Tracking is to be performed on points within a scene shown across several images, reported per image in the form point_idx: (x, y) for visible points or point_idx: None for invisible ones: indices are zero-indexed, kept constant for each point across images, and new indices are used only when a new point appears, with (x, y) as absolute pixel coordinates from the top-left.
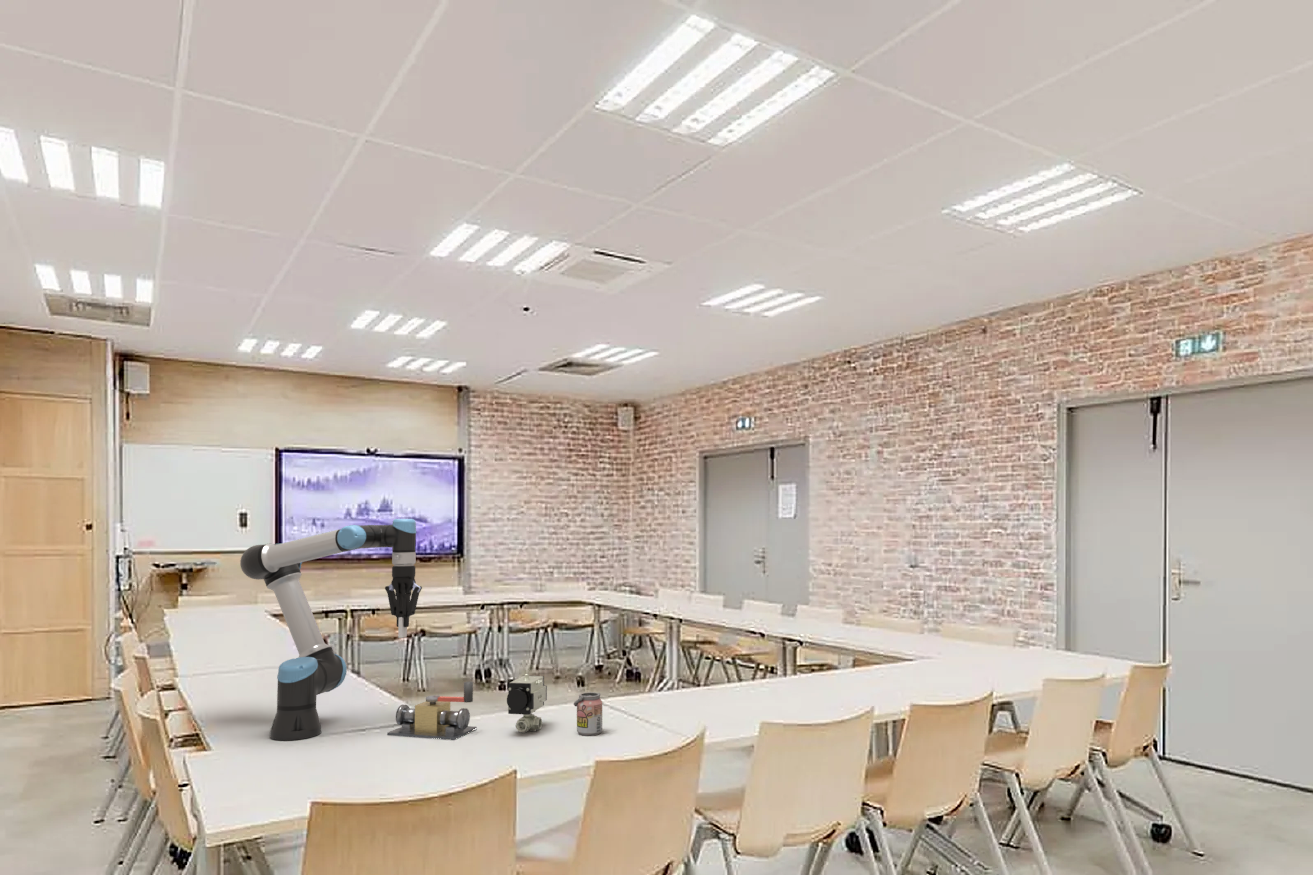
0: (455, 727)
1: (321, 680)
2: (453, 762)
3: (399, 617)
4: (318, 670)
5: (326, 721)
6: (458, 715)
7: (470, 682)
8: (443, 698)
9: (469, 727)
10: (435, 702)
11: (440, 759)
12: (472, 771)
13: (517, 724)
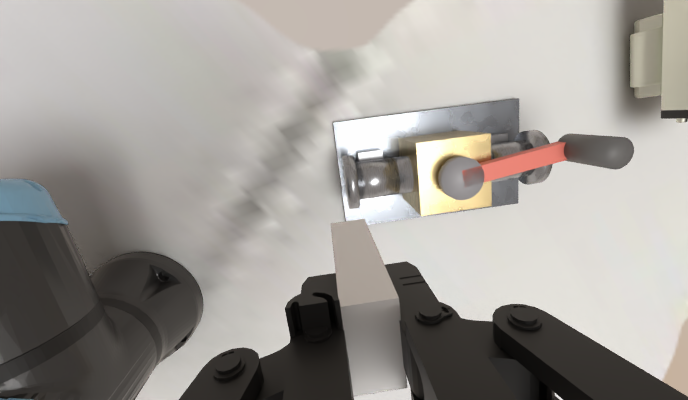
0: None
1: (101, 345)
2: (590, 321)
3: (354, 385)
4: (64, 378)
5: (85, 177)
6: (537, 182)
7: (626, 152)
8: (501, 176)
9: (505, 111)
10: None
11: (559, 317)
12: (643, 346)
13: (648, 96)
